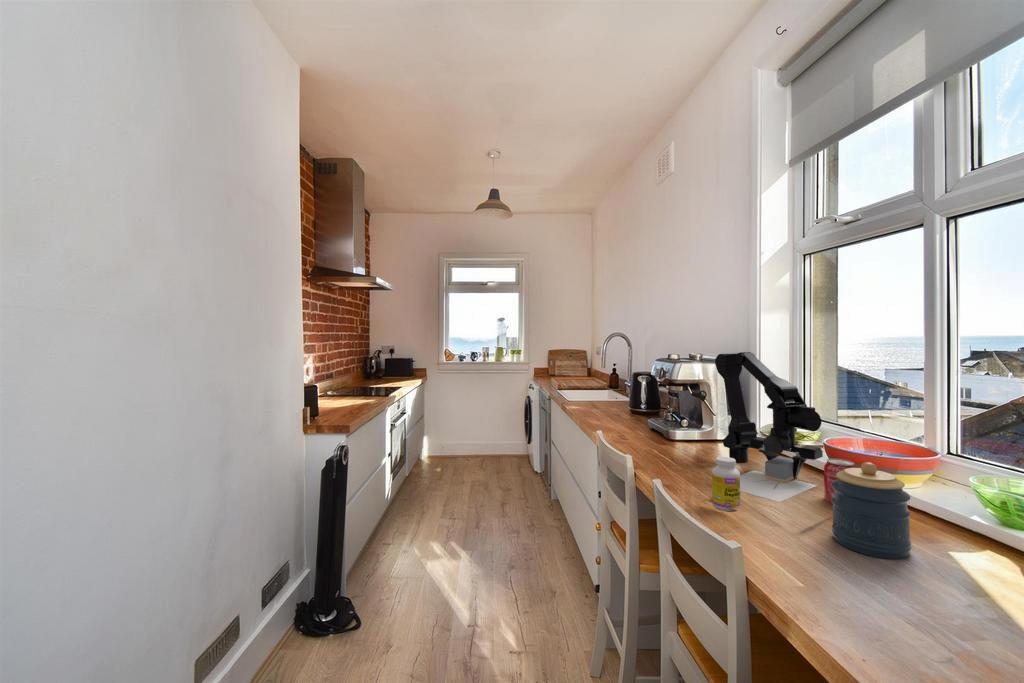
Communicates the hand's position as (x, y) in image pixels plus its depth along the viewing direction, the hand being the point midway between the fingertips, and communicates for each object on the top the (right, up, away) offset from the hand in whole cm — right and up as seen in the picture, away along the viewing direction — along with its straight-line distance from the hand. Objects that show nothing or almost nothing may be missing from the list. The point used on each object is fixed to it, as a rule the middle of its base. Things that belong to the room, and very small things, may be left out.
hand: (784, 475), depth 133 cm
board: (-10, -2, -6) cm, 12 cm away
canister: (-8, -2, -41) cm, 41 cm away
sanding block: (-1, 0, -1) cm, 1 cm away
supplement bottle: (-27, -3, -19) cm, 33 cm away
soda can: (+2, -2, -20) cm, 20 cm away
